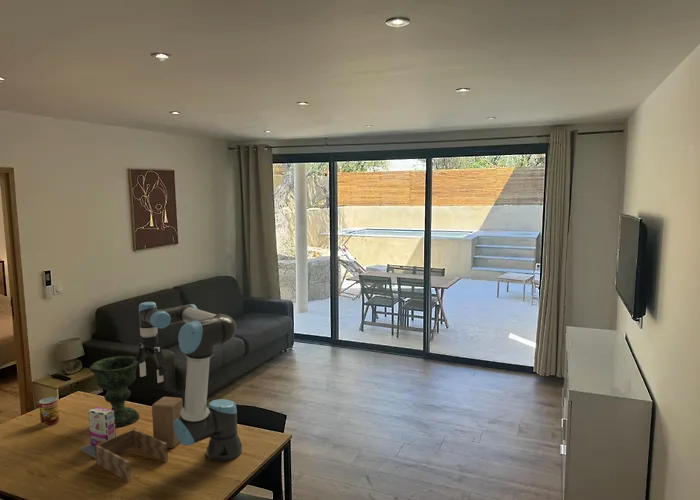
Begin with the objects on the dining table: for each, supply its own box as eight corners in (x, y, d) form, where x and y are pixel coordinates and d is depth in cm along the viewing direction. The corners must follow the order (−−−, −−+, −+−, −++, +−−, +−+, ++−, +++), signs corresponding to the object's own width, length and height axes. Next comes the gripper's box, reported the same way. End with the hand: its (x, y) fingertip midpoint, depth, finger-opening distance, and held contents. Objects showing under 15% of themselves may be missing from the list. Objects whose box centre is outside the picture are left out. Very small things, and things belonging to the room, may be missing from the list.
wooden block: (173, 449, 216) (171, 406, 214) (153, 447, 218) (150, 404, 216) (185, 438, 226) (183, 397, 224) (165, 436, 228) (163, 395, 226)
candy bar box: (117, 444, 219) (115, 410, 217) (108, 450, 214) (105, 414, 212) (99, 440, 223) (97, 405, 221) (90, 445, 219) (87, 410, 217)
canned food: (45, 428, 237) (43, 404, 236) (37, 424, 241) (35, 401, 240) (62, 421, 244) (60, 398, 242) (54, 418, 248) (52, 395, 247)
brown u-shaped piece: (167, 461, 207) (167, 443, 206) (128, 481, 192) (127, 462, 191) (135, 445, 220) (134, 428, 219) (96, 463, 205) (94, 445, 205)
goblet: (121, 433, 232) (117, 372, 228) (83, 427, 238) (79, 368, 234) (152, 413, 253) (149, 357, 249) (116, 408, 259) (113, 353, 255)
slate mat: (127, 445, 220) (127, 443, 220) (96, 459, 209) (96, 456, 209) (110, 436, 228) (110, 434, 228) (80, 449, 217) (80, 447, 216)
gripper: (172, 337, 222) (175, 381, 225) (140, 329, 236) (143, 371, 239) (158, 341, 216) (160, 387, 219) (126, 333, 230) (129, 376, 233)
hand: (151, 379), depth 229 cm, fingers open, 13 cm apart
